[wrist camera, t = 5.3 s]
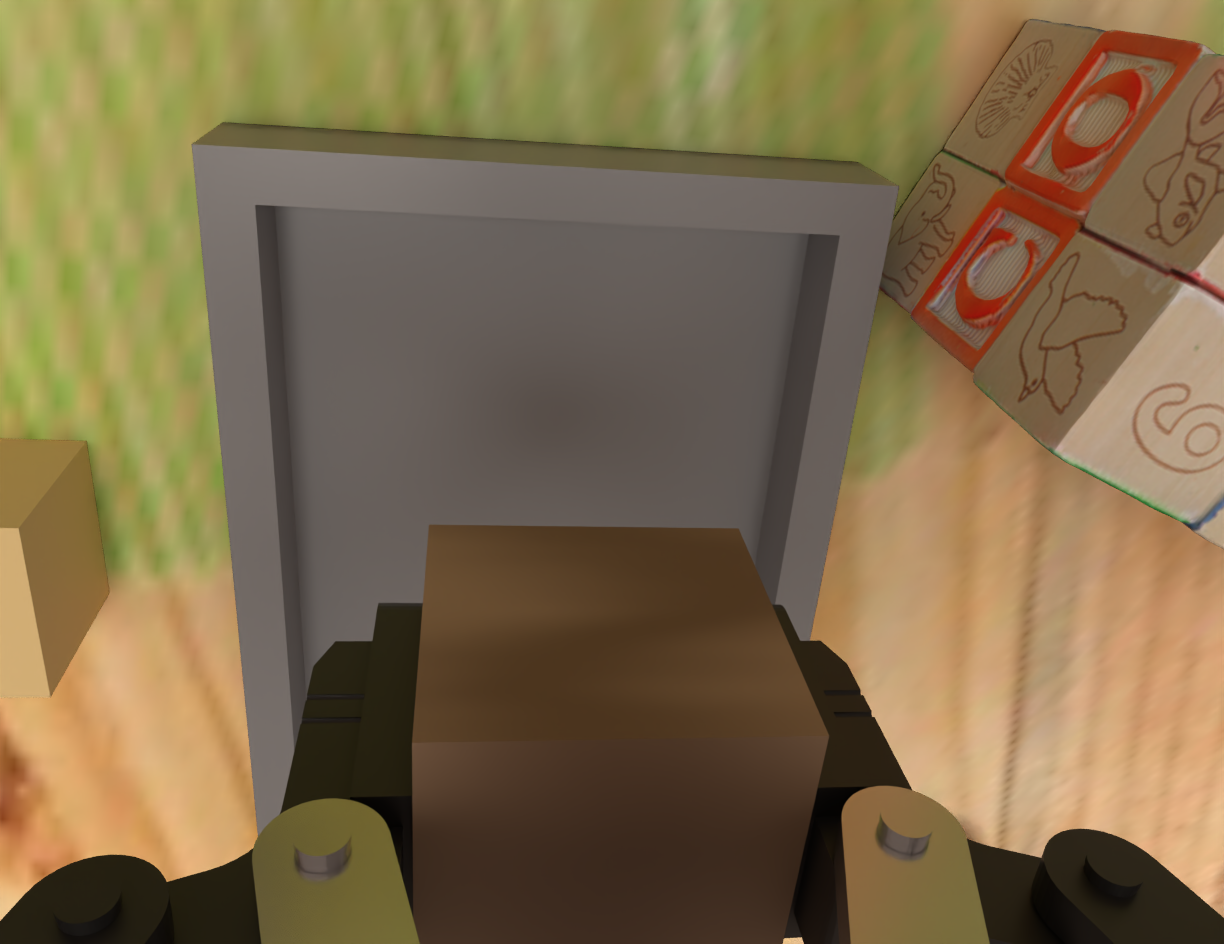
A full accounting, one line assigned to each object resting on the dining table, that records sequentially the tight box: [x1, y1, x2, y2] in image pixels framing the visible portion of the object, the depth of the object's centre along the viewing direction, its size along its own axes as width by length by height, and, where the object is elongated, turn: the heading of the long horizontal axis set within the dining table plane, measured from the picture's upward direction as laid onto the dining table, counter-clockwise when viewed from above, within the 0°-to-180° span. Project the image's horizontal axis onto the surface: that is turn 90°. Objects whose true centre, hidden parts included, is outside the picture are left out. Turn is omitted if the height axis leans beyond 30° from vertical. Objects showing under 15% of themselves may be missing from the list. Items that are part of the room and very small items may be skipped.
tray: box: [192, 122, 899, 836], centre depth 25 cm, size 13×19×2 cm
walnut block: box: [412, 525, 829, 944], centre depth 13 cm, size 4×4×4 cm
